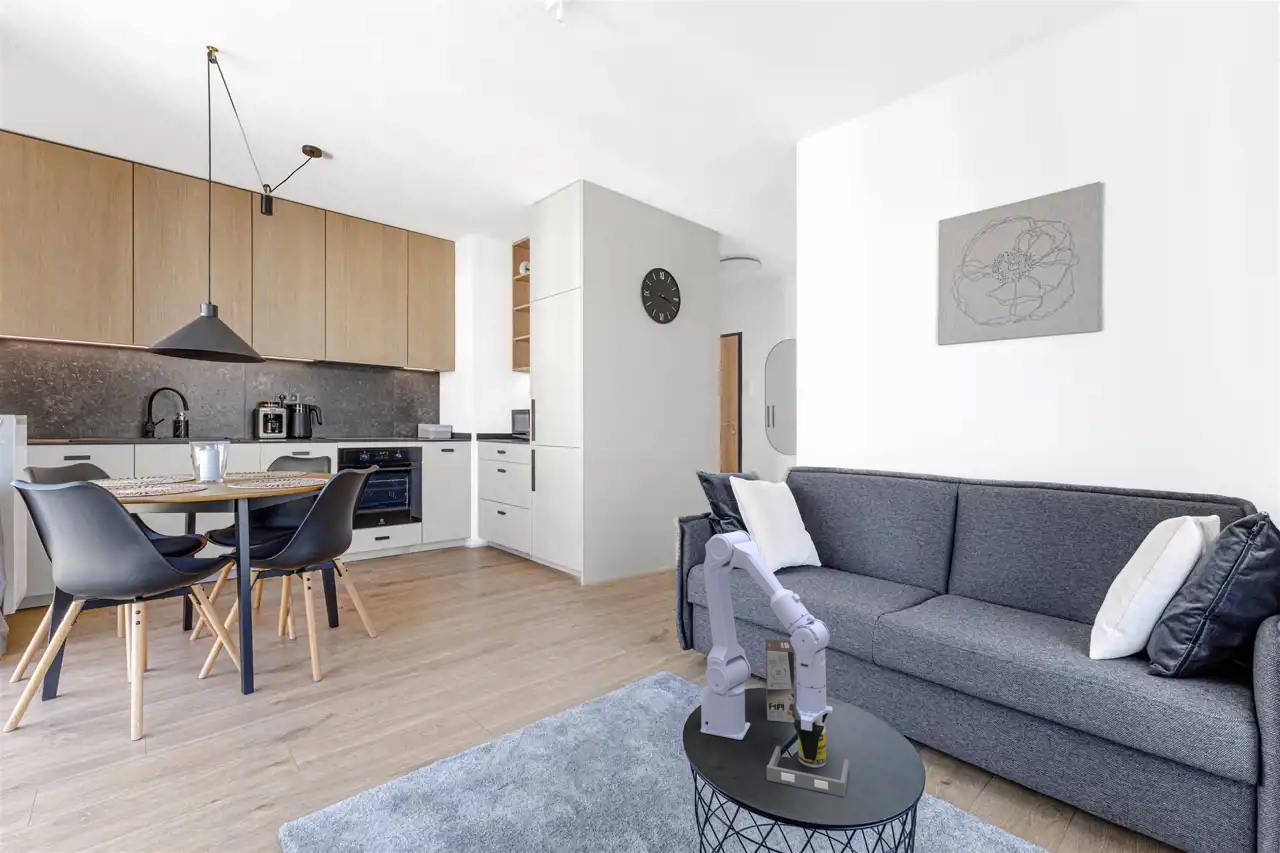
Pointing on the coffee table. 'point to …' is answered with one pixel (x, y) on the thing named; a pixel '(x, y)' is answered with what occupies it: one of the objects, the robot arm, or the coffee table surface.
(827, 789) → the rail
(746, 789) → the coffee table surface
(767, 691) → the coffee box
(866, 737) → the coffee table surface
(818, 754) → the supplement bottle
